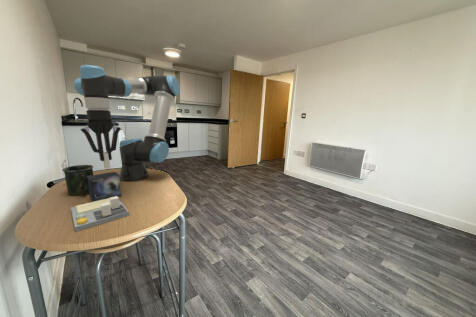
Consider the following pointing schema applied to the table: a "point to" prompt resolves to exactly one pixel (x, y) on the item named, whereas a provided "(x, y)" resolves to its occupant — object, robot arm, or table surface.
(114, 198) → the toggle
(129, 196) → the table surface
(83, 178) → the mug
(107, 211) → the toggle
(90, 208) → the breaker panel
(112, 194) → the small box
